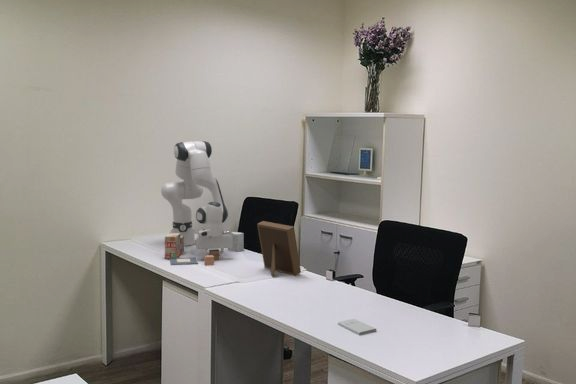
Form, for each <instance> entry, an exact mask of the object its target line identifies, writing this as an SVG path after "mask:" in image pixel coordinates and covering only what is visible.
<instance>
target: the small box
mask: <svg viewBox="0 0 576 384" xmlns="http://www.w3.org/2000/svg"><path fill="white" fill-rule="evenodd" d="M231 232H232V233H233V239H232V241H233V247H232V248H227V251H230V252H241V251H244V247H245V246H244V245H245V244H244V240H245V239H244V238H245V237H244V235H245V234H244V232H239V231H238V232H237V231H231Z"/></svg>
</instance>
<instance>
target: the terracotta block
mask: <svg viewBox="0 0 576 384" xmlns="http://www.w3.org/2000/svg"><path fill="white" fill-rule="evenodd" d="M214 265H215V260H214V256H213V255H207V254H206V255H204V266H214Z"/></svg>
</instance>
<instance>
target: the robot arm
mask: <svg viewBox="0 0 576 384" xmlns="http://www.w3.org/2000/svg"><path fill="white" fill-rule="evenodd" d="M212 149H213V148H212V146H211V144H210V143H209V142H208V141H204V140H202V141H199V140H193V141H185V142H183V141H181V142H177V143H176V144H175V145H174V147H173V155H174V157H175V159H176V163H175V174H176V176H177V177H178V178H179V179H181V180H182V181H170V182H165V183H164V184H163V185H162V186H161V189H160V190H161V191H160V193H161V196H162V197H163V199H165V200H166V201H168V203H169V204H170V206H171V207H172V217H173V219H172V220H173V221H172V229H171V230H170V232H169V233H180V235H181V236H184V247H185V246H192V245H195V248H196V249H197V250H204V251H205V252H206V255H210V253H209V250H212V249H220V252H219V257H222V255H223V253H224V251H225V249H228V248H232V247H233V241H232V239H233V233H232V232H233V231H224V230H223V223H225V222H226V220H227V219H228V216H229V212H228V209H227V207H226V205H225V202H224V199H223V194H222V191H221V187H220V184H219V182H218V180H217V178H215V177H214V176H213V173H212V171H211V164H210V160H209V158H210V157H211V156H212V154H213V151H212ZM204 188H206V189H207V190H209V191H210V193H211V196H212V199H213V201H211V202H207V205H204V206H201V207H199V208H198V209H197V210H196V214H195V218H196V221H197V223H199V224H201V225H206V227H205V228H203V229H200V230H198V232H197V233H198V235H197V237H195V233H196V232H195V229H193V221H192V208H191V207H190V206H189V205H186V204H184V203H183V200H194V199H198V198H201V197H202V196H203V192H204ZM195 238H196V239H195Z"/></svg>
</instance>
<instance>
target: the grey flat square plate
mask: <svg viewBox="0 0 576 384" xmlns="http://www.w3.org/2000/svg"><path fill="white" fill-rule="evenodd" d="M169 263H170V266H183V265H184V266H185V265H189V266H190V265H199V263H198V259H197V258H196V257H195V256H190V257H177V258H169Z"/></svg>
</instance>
